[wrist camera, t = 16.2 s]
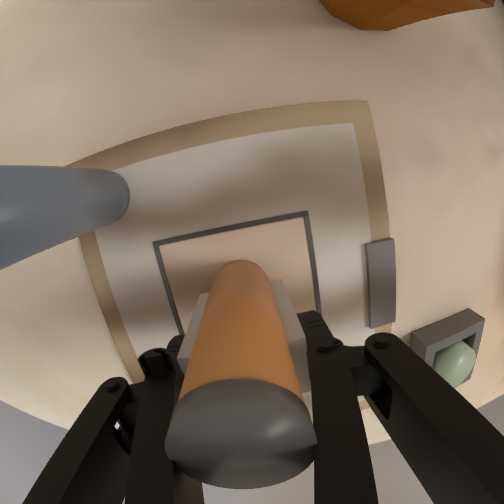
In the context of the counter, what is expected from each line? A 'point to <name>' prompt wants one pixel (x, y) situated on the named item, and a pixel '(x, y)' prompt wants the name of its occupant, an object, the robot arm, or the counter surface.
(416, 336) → the button base
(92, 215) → the blue marker
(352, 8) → the potted plant
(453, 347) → the button
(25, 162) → the counter surface
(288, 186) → the clipboard
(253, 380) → the orange marker
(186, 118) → the counter surface
